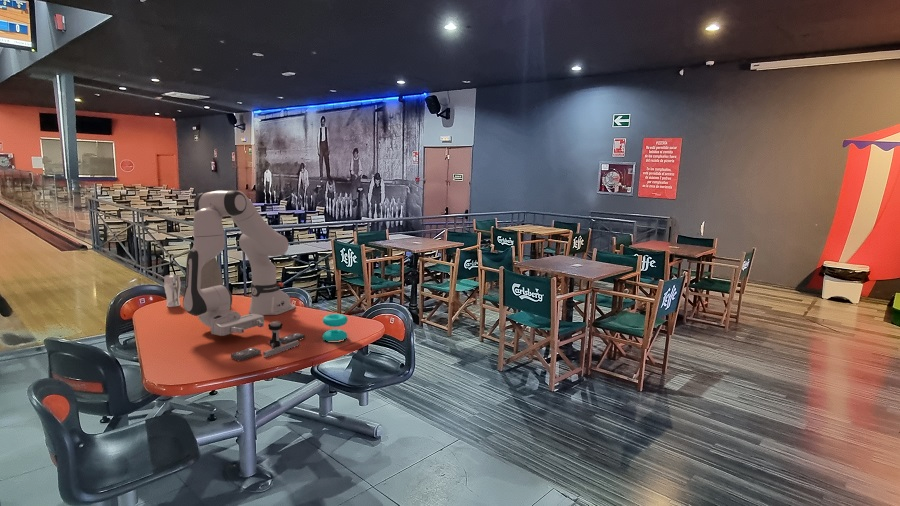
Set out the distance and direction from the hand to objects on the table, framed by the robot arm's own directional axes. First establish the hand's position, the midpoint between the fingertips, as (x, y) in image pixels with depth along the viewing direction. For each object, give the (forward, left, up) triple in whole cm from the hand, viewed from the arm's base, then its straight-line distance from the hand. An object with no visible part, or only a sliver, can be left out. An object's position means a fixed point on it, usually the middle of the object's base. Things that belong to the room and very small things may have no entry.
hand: (252, 327), depth 191 cm
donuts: (-22, +23, -6) cm, 33 cm away
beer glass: (-12, -74, -6) cm, 75 cm away
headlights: (0, +12, -6) cm, 14 cm away
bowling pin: (-25, -64, -6) cm, 69 cm away
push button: (-2, +10, -6) cm, 12 cm away
